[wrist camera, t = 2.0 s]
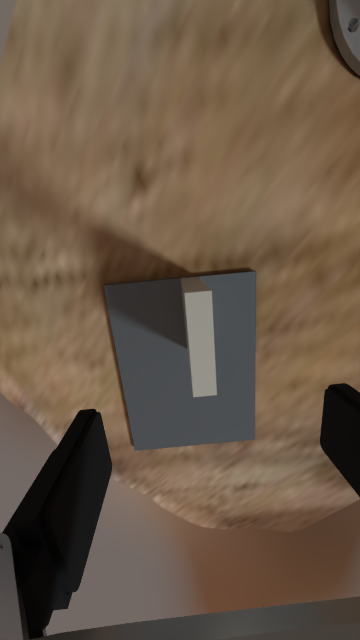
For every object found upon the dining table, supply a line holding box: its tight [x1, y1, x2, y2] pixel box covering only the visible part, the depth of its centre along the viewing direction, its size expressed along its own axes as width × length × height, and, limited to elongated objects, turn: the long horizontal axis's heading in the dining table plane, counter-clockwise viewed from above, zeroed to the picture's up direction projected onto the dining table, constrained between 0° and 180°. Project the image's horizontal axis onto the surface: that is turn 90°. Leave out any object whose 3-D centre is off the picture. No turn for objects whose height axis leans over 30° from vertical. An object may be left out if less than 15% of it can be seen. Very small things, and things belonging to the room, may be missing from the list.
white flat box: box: [181, 277, 217, 397], centre depth 20 cm, size 8×2×9 cm, turn 5°
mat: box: [104, 271, 256, 451], centre depth 27 cm, size 22×16×1 cm
